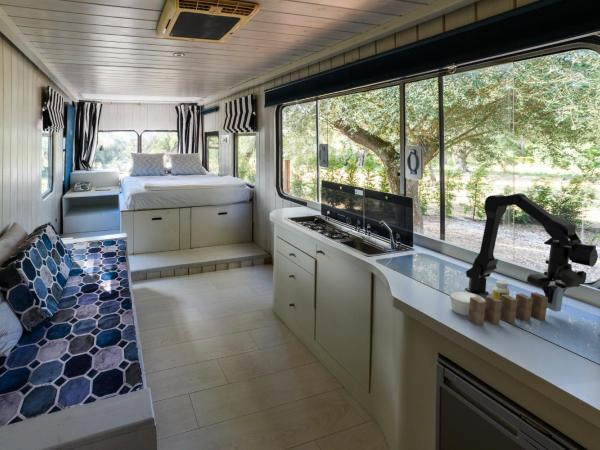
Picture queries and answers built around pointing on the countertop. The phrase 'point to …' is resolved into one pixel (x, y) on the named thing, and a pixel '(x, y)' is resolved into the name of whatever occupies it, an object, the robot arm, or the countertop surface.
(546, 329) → the countertop surface
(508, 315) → the brown wooden block
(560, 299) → the block
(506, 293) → the supplement bottle
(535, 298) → the brown rectangular block
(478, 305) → the tile
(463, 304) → the ramekin
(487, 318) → the tile
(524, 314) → the brown rectangular block
